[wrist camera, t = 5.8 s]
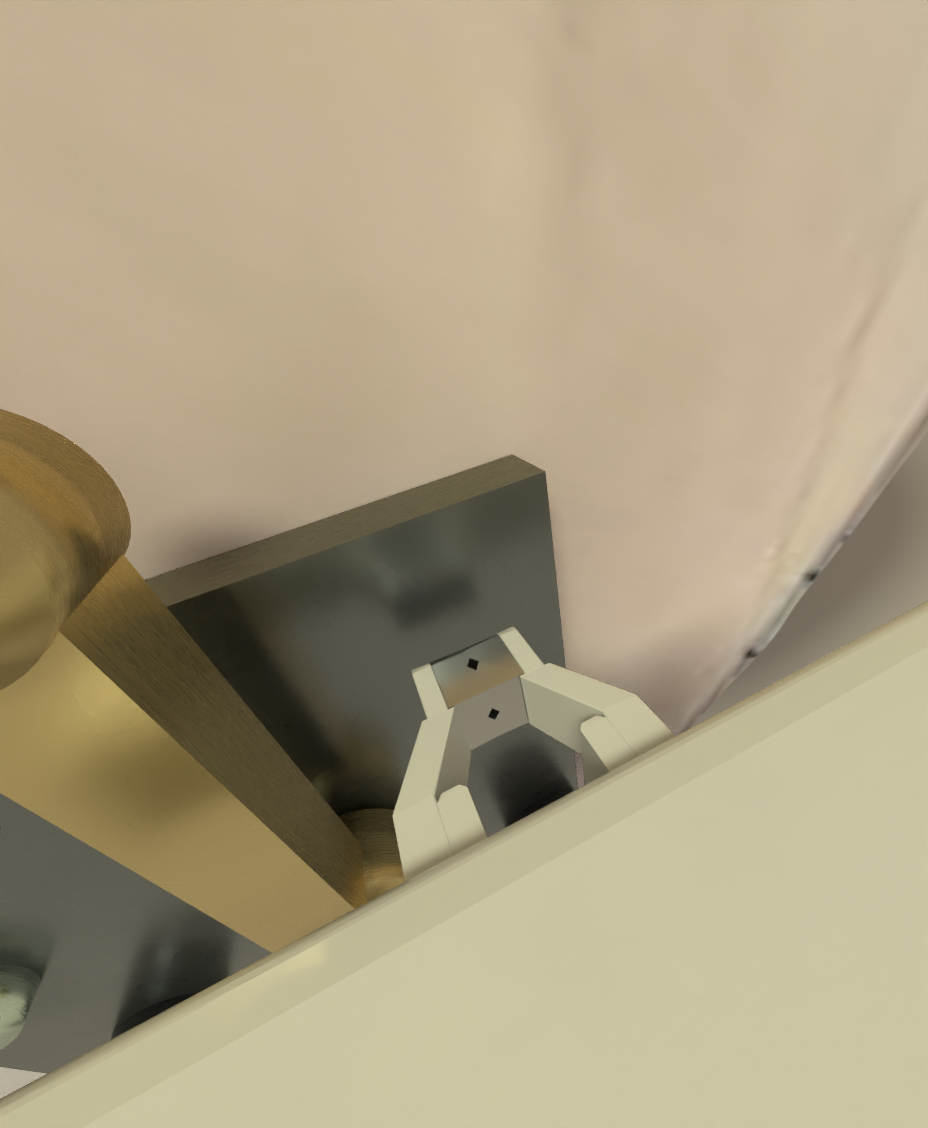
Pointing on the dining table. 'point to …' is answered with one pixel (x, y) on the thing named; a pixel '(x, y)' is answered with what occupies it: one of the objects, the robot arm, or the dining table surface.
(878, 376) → the dining table surface
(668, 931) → the robot arm
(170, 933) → the base
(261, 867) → the lever
